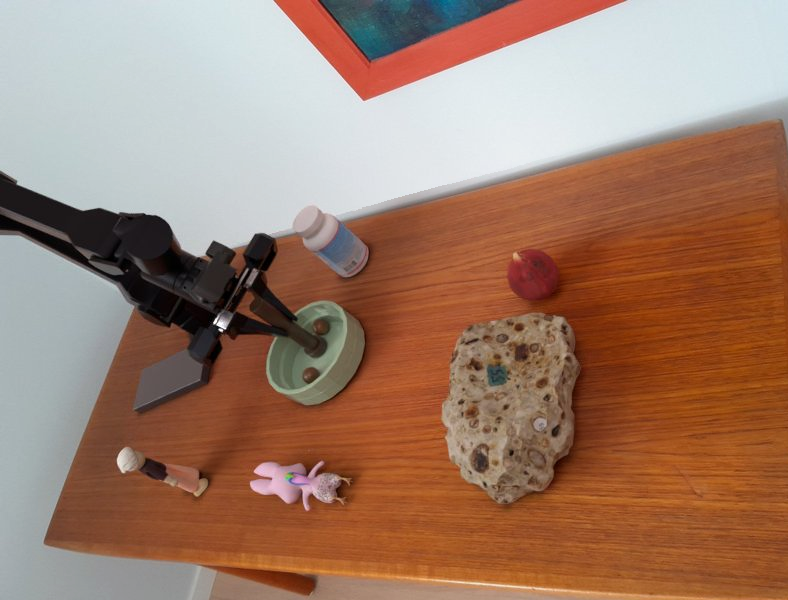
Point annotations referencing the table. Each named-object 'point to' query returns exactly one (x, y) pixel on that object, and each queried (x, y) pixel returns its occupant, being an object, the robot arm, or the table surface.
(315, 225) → the pill bottle
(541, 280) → the onion
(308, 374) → the hazelnut
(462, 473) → the rock
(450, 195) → the table surface
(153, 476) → the grandmother figurine
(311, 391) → the bowl
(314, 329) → the hazelnut
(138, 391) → the rest
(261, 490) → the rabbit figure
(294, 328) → the muddler
